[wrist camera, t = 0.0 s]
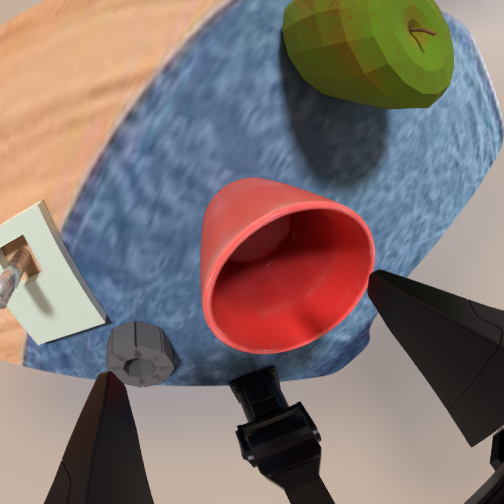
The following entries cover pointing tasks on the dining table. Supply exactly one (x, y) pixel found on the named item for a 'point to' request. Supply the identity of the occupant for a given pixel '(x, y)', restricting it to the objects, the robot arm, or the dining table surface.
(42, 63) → the dining table surface
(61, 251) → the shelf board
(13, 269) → the grey metallic cylinder
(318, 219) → the flower pot
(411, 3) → the apple
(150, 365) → the grey octagonal ring
